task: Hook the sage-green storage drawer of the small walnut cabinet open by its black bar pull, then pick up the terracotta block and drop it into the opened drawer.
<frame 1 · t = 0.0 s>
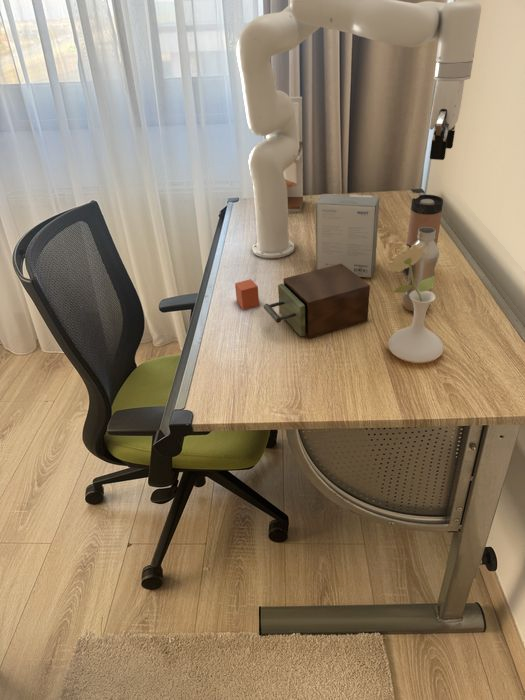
hand: (441, 153, 119), 31 cm above the table, tool pointing down, fingers open, 9 cm apart
display case: (285, 207, 184), on the table
hard drive box: (345, 270, 142), on the table
travel mug: (417, 272, 138), on the table
cabinet: (325, 317, 123), on the table
block: (247, 303, 130), on the table
drawer: (307, 304, 118), point 5 cm above the table, slide at 0.5 cm
metal bottle: (415, 309, 124), on the table
flower in vase: (410, 353, 109), on the table
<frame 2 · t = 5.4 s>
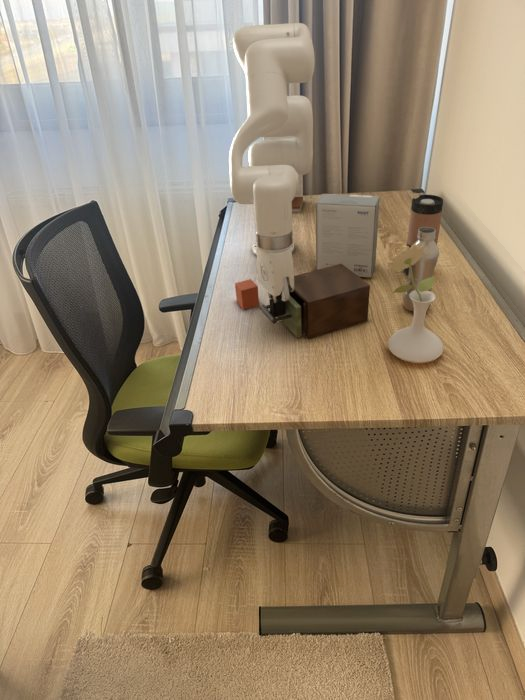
hand: (278, 314, 116), 5 cm above the table, tool pointing down, fingers closed
drawer: (303, 306, 118), point 5 cm above the table, slide at 1.5 cm, touching gripper
everything else where it was.
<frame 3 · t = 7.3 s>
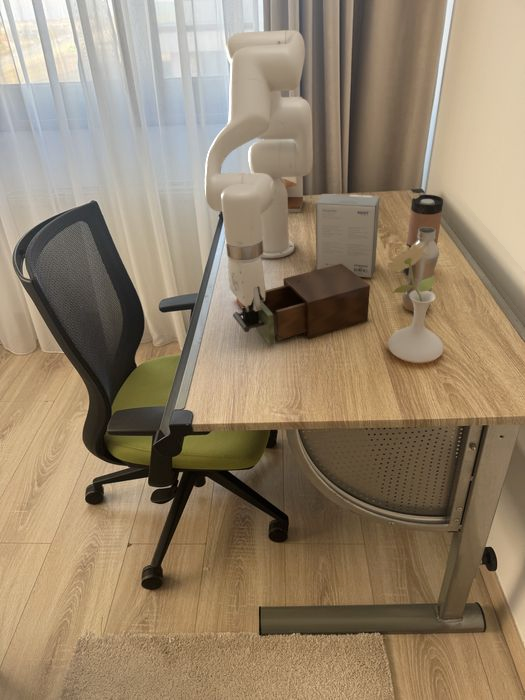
hand: (251, 323, 115), 4 cm above the table, tool pointing down, fingers closed
drawer: (278, 313, 116), point 5 cm above the table, slide at 8.1 cm
everything else where it was.
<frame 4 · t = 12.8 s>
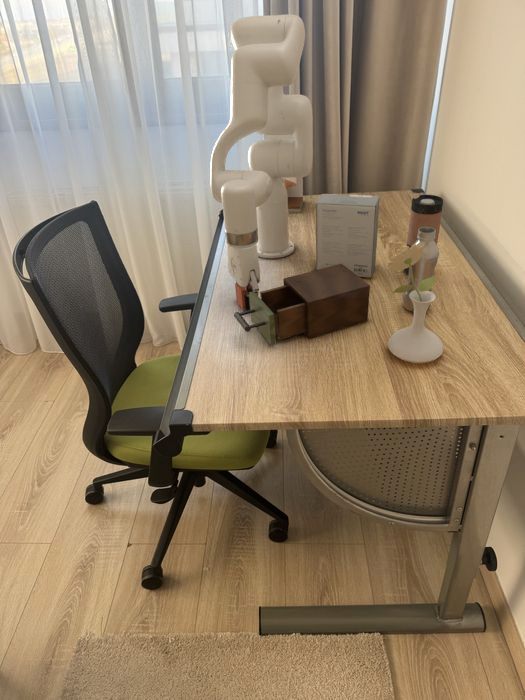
hand: (247, 302, 130), 0 cm above the table, tool pointing down, fingers closed on block, 4 cm apart
block: (247, 303, 130), on the table, touching gripper
everything else where it was.
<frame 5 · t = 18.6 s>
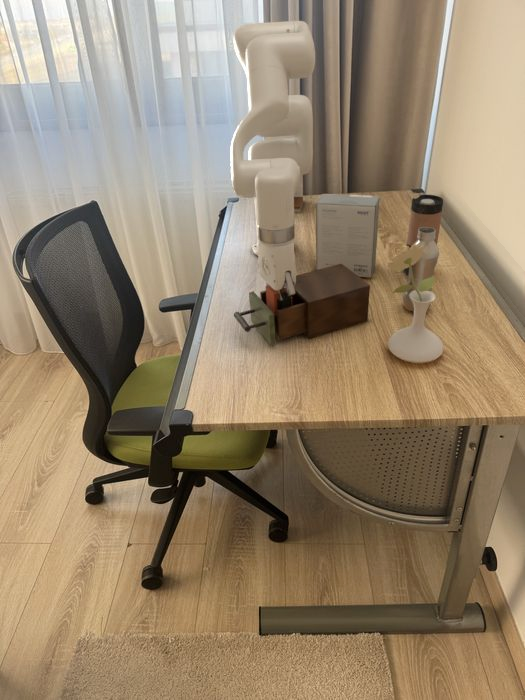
hand: (279, 307, 116), 6 cm above the table, tool pointing down, fingers closed on block, 4 cm apart
block: (279, 309, 116), point 6 cm above the table, touching gripper
drawer: (278, 313, 116), point 5 cm above the table, slide at 7.9 cm, touching gripper
everything else where it was.
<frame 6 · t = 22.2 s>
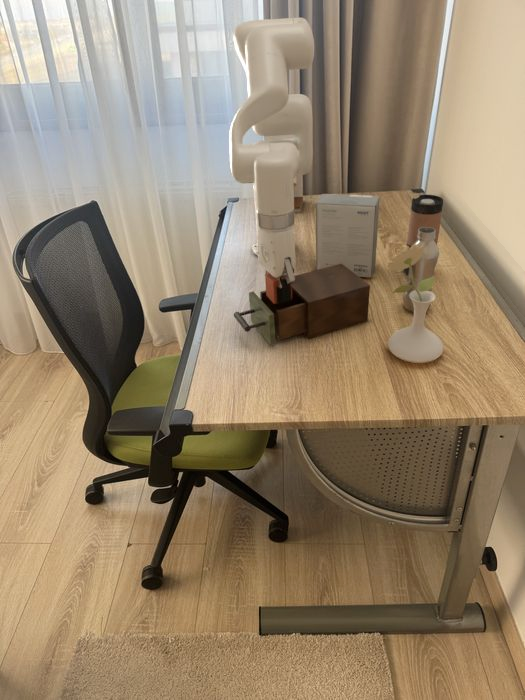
hand: (279, 295, 114), 9 cm above the table, tool pointing down, fingers closed on block, 4 cm apart
block: (279, 297, 114), point 9 cm above the table, touching gripper
drawer: (278, 313, 116), point 5 cm above the table, slide at 7.9 cm
everything else where it was.
when the fingers open (9 cm above the table, at t = 31.8 s): block drops 7 cm, resting on drawer.
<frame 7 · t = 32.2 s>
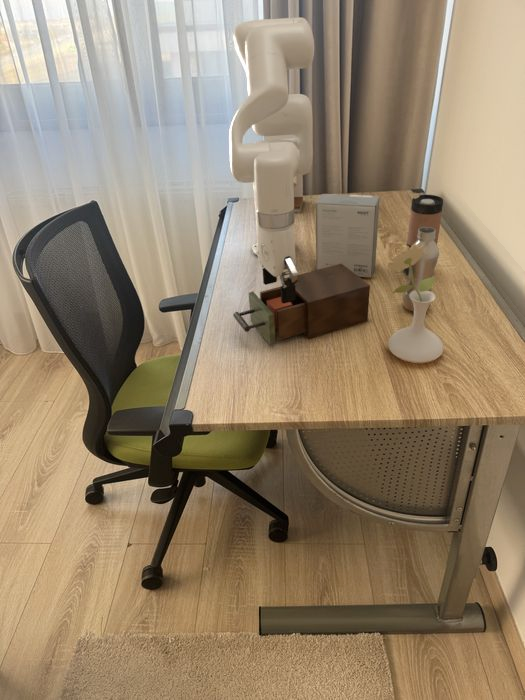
hand: (279, 291, 113), 10 cm above the table, tool pointing down, fingers open, 9 cm apart
block: (280, 323, 118), point 2 cm above the table, touching drawer
drawer: (278, 313, 116), point 5 cm above the table, slide at 8.0 cm, touching block
everything else where it was.
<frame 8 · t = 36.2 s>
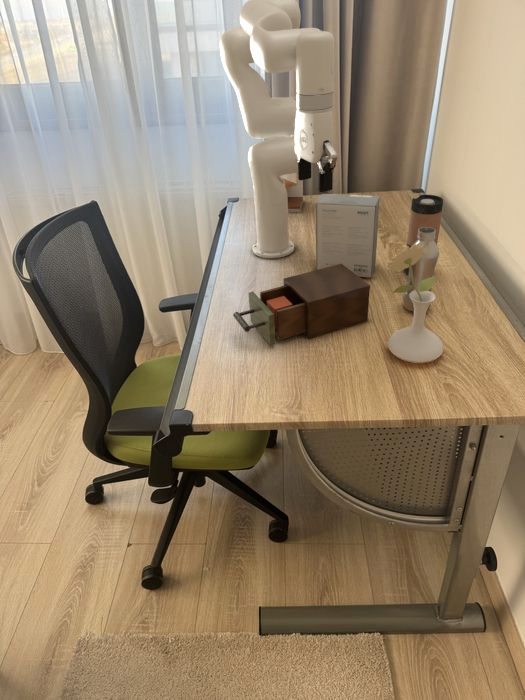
hand: (314, 184, 115), 28 cm above the table, tool pointing down, fingers open, 9 cm apart
nothing on the table moved.
at the end: drawer slide at 8.0 cm; block inside the target area in the drawer (1.3 cm from its centre), point 2.0 cm above the cabinet's base; the gripper is holding nothing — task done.
